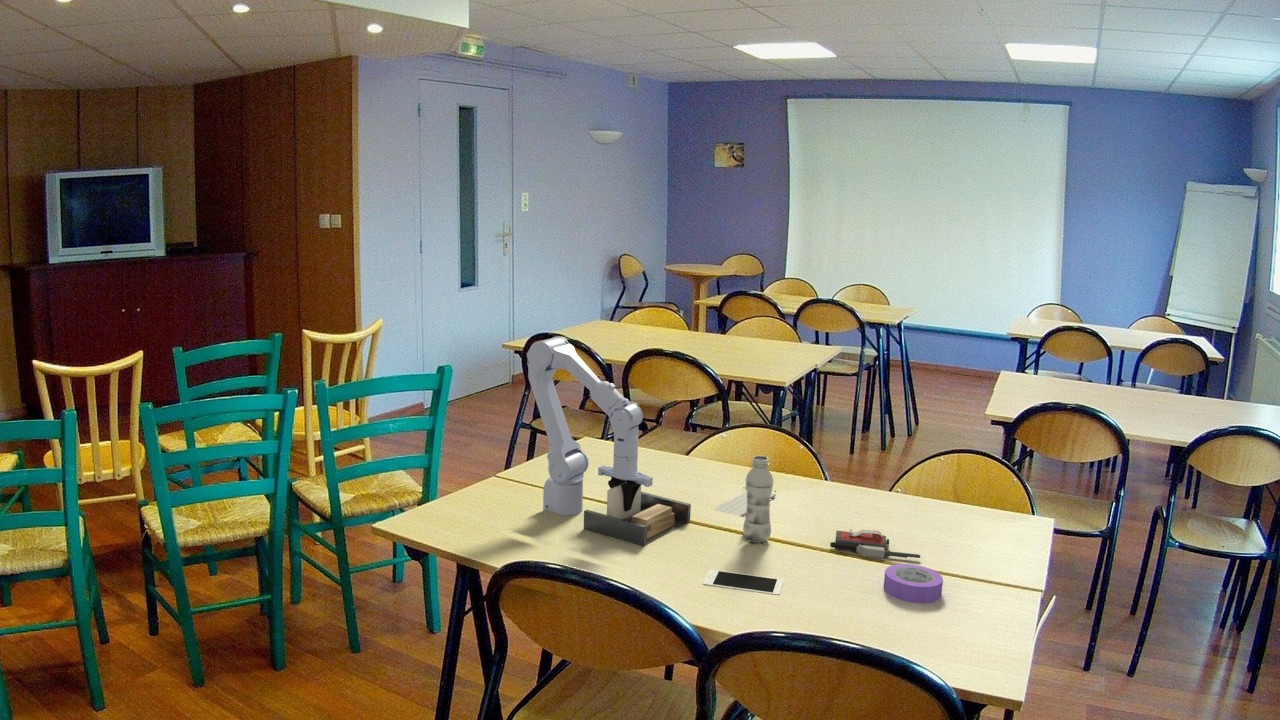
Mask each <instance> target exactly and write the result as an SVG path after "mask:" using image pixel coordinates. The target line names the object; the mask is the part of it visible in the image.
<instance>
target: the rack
mask: <svg viewBox="0 0 1280 720" xmlns="http://www.w3.org/2000/svg"><path fill="white" fill-rule="evenodd" d="M657 504H661V505H665V506H669V507H672V513H674V525H672V526H670V527H668V528H667V529H665V530H663V531H661V532H659V533H657V534H655V535H653V536H651V537H649V538H647V526H646V525H642V524H639V523H635V522H632V516H634V515H636V514H638V513H640V512H642V511H644V510H646V509H648V508H650V507H652V506H655V505H657ZM691 507H692V505H691V503H689V502H684V501H681V500H677V499H673V498H668V497H664V496H660V495H657V494H652V493H650V492H649V493H648V492H644V491H641V509H640V511H639V512H637V513H635V514H633V515H631V516H629V517H627V518H624V519H620V518H616V517H613V516H609V515H607V514H605V513H601V512H596V511H595V510H594V511H593V510H590V509H586V510H583V530H584V531H588V532H591V533H595V534H598V535H601V536H605V537H609V538H611V539H612V538H613V539H616V540H620V541H622V542H623V541H624V542H627V543H630V544H632V545H637V546H639V547H640V546H641V547H645V546H647V545H649V544H651V543H653V542H655V541H656V540H659V539H661V538H662V537H664V536H666V535H668V534H670V533H673V531H675V530H677V529H680V528H681V527H683V526H685V525H686V524H689V523H690V522H691Z"/></svg>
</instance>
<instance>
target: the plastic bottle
mask: <svg viewBox="0 0 1280 720" xmlns="http://www.w3.org/2000/svg"><path fill="white" fill-rule="evenodd" d="M751 465H752V468H751V469H750V470H749V471H748V472H747V474H746V477H745V486H746V487H745V488H746V489H745V490H746V491H747V510H746V515H745V516H744V518H745V519H744V522H743V528H742V532H743V533H742V534H743V535H744V537H745V539H746V540H747V541H749V542H753V543H765V542H767V541H768V540H769V539H770V538H771V533H772V526H771V525H772V524H771V516H770V515H771V514H770V513H771V512H770V506H771V500H770V498H771V493H773V487H774V477H773V475H772V473H771V471H770V469H768V468H769V466H770V464H769V457H768V456H765V455H754V456H753V458H752V463H751Z"/></svg>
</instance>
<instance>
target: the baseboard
mask: <svg viewBox="0 0 1280 720" xmlns="http://www.w3.org/2000/svg"><path fill="white" fill-rule="evenodd" d="M744 490H746V485H745V486H744ZM743 492H744V491H743ZM774 492H775V493H773V492H771V498H770V499H772V498H774V497H775V496H776V495H777V494H776V492H777V491H776V490H774ZM741 493H742V492H741ZM736 496H737V495H736ZM734 497H735V496H734ZM732 498H733V497H732ZM775 498H776V497H775ZM775 498H774V499H775ZM728 500H729V501H728ZM728 500H726V501H724V502H722V503H723V504H722V503H721V504H719V505H717V506H716V507H714V508H712V511H713V510H714V511H717V512H720V513H726V514H729V515H733V516H737V517H741V518H744V517H745V516H746V510H747V491H746V492H744V493H742V494H741V495H739V496H737V497H735V498H733V499H732V500H730V499H728ZM772 500H773V499H772ZM744 515H745V516H744ZM743 516H744V517H743Z"/></svg>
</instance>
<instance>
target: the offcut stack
mask: <svg viewBox="0 0 1280 720" xmlns="http://www.w3.org/2000/svg"><path fill="white" fill-rule="evenodd" d="M632 522H635V523H639V524H642V525H646V526H647V538H649V537H651V536H653V535H655V534H657V533H659V532H661V531H663V530H665V529H667V528H668V527H670V526H672V525H674V513H672V507H669V506H665V505H661V504H657V505H655V506H652V507H650V508H648V509H646V510H644V511H642V512H640V513H638V514H636V515H634V516H632Z"/></svg>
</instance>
